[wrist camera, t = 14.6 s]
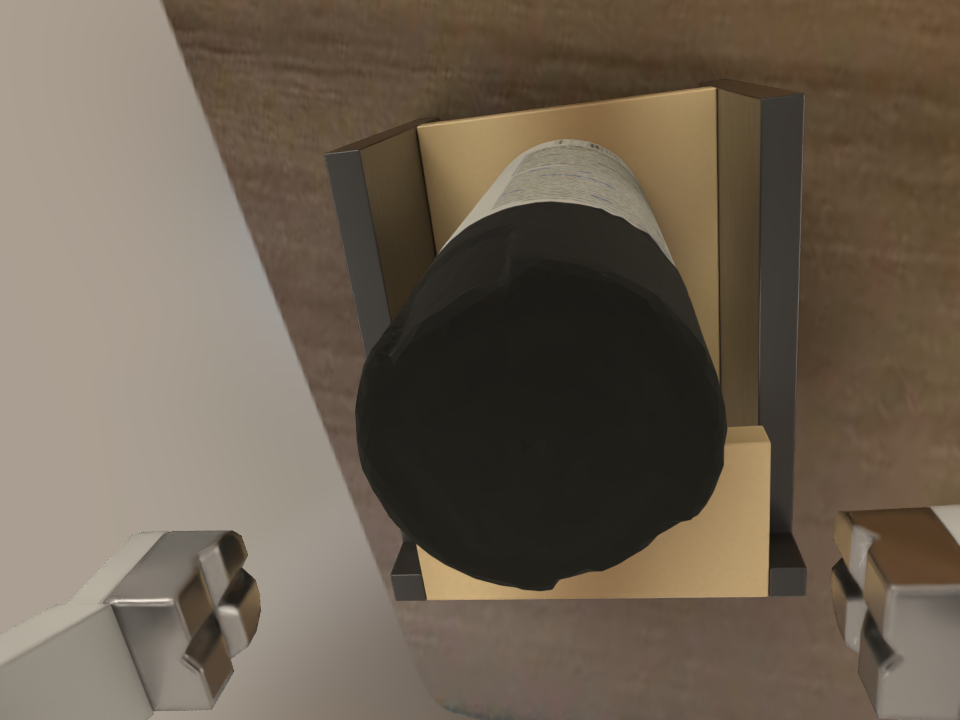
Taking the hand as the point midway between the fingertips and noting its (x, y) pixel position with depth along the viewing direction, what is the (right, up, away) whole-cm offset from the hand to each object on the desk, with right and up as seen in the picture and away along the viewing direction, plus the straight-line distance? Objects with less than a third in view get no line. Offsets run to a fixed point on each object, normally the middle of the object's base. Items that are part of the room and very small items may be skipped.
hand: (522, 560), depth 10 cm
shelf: (+4, +7, +27) cm, 28 cm away
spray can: (+3, +9, +21) cm, 23 cm away
